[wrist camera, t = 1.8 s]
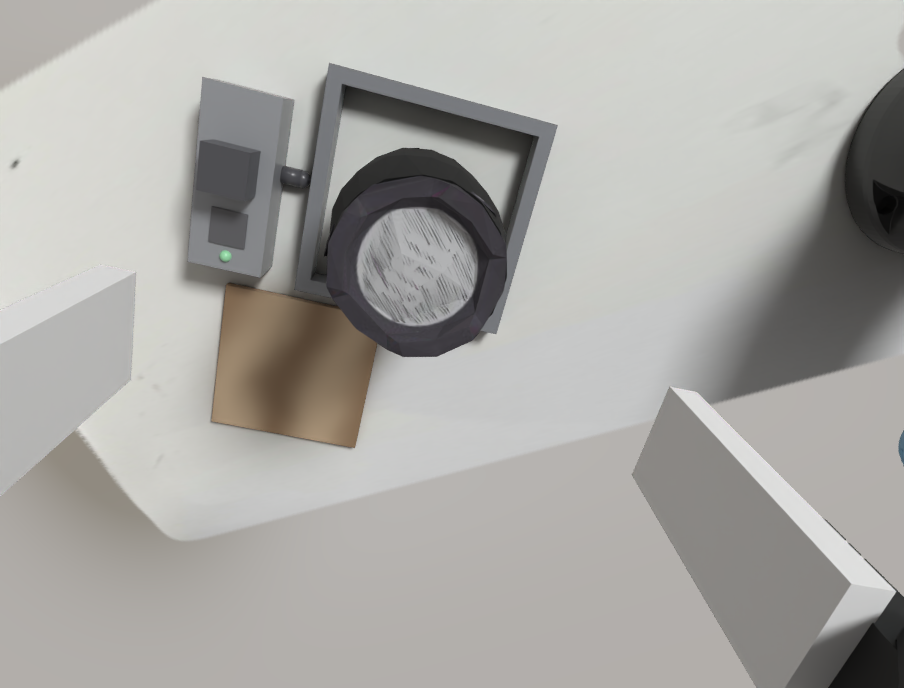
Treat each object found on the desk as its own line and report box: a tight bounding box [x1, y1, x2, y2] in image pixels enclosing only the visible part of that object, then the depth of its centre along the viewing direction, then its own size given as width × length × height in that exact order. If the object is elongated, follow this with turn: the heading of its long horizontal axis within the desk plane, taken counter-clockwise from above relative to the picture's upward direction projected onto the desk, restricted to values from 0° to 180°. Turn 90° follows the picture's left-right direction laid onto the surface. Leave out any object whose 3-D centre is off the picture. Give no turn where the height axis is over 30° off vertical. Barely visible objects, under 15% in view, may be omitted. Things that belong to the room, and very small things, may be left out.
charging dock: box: [280, 63, 558, 334], centre depth 41 cm, size 19×16×2 cm
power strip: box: [188, 77, 294, 277], centre depth 38 cm, size 5×12×6 cm, turn 166°
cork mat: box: [212, 283, 377, 448], centre depth 46 cm, size 12×12×1 cm
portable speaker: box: [324, 148, 507, 357], centre depth 33 cm, size 9×9×20 cm
